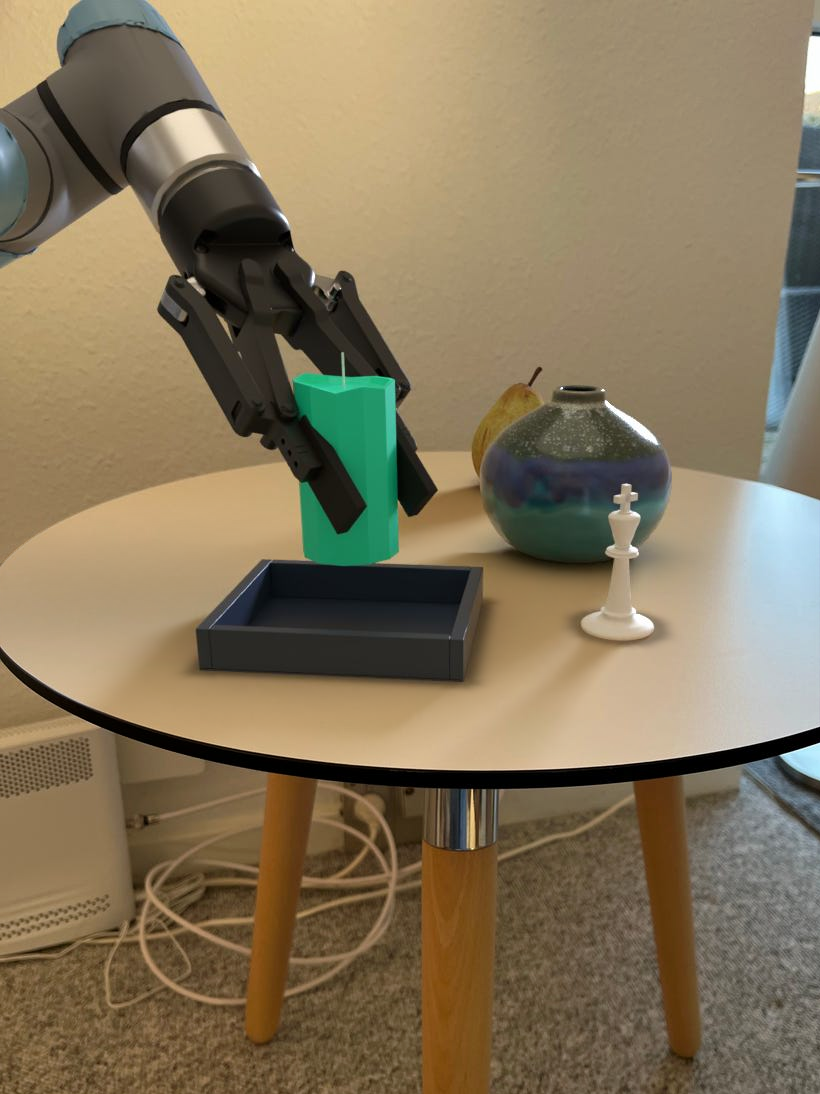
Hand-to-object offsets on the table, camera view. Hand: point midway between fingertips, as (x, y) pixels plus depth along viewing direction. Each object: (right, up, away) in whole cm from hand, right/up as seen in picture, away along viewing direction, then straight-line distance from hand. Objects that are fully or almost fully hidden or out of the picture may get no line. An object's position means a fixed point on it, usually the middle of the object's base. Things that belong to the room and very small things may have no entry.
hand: (388, 511), depth 60 cm
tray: (-3, -8, +6) cm, 10 cm away
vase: (+13, -1, +24) cm, 28 cm away
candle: (-3, -2, +4) cm, 5 cm away
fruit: (+9, +8, +46) cm, 48 cm away
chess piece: (+14, -7, +7) cm, 18 cm away
